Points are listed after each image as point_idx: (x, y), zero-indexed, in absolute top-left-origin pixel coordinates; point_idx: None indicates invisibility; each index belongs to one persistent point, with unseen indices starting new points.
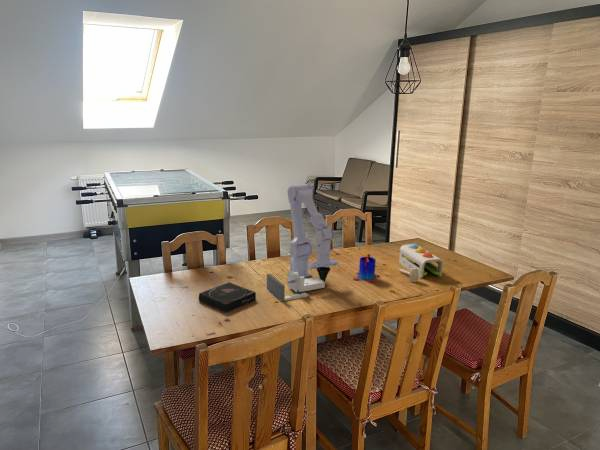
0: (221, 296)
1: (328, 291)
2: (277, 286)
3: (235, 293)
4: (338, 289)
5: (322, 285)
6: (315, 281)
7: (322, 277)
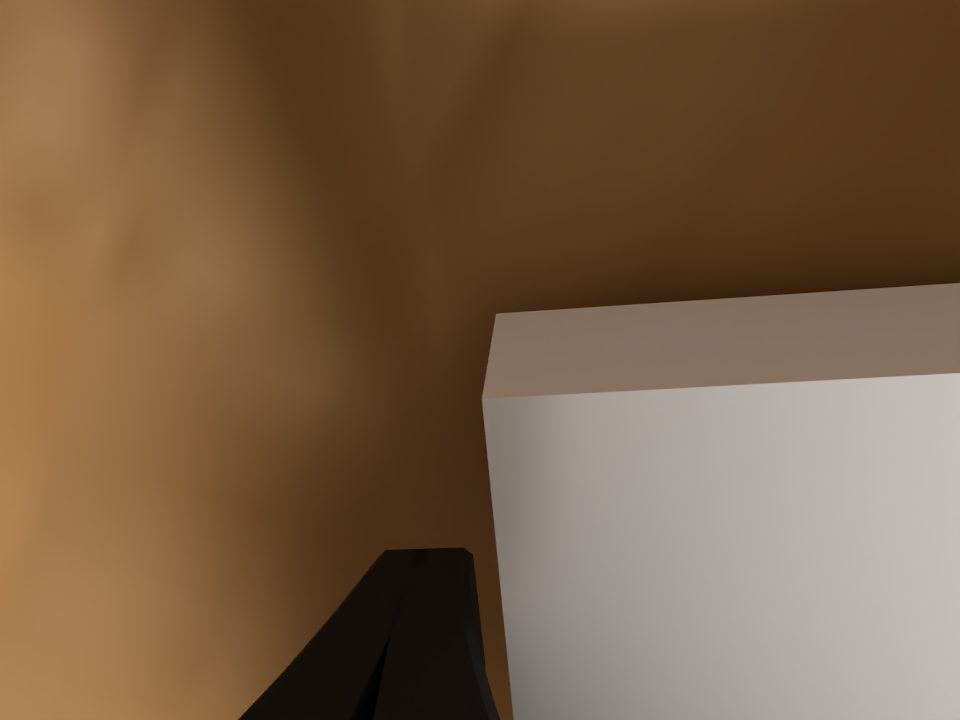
0: None
1: (451, 77)
2: None
3: None
4: (56, 121)
5: (593, 340)
6: (853, 594)
7: (487, 705)
